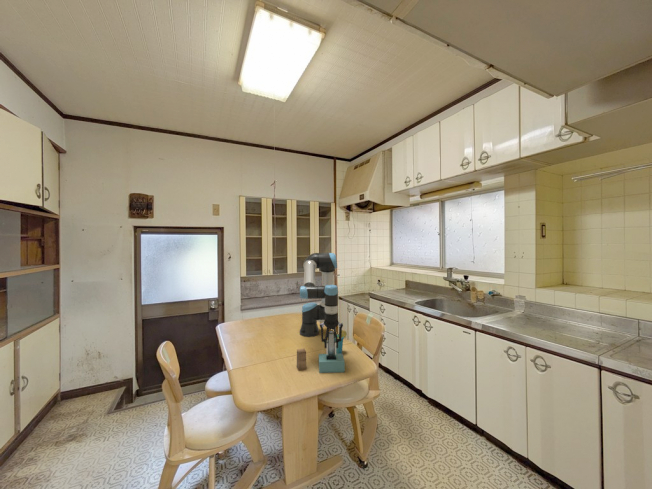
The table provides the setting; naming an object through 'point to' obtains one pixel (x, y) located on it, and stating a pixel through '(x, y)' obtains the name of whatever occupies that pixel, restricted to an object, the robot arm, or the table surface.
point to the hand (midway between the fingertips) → (331, 353)
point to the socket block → (331, 363)
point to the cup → (340, 343)
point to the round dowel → (331, 346)
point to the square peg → (301, 359)
